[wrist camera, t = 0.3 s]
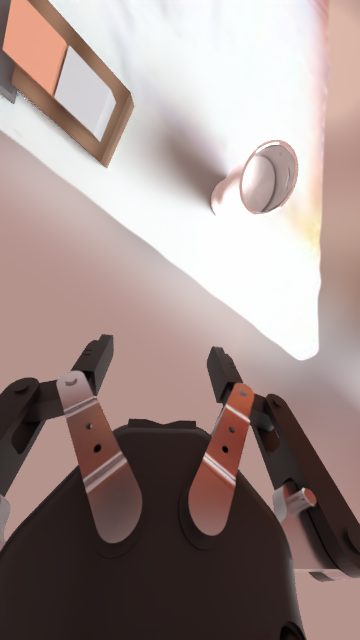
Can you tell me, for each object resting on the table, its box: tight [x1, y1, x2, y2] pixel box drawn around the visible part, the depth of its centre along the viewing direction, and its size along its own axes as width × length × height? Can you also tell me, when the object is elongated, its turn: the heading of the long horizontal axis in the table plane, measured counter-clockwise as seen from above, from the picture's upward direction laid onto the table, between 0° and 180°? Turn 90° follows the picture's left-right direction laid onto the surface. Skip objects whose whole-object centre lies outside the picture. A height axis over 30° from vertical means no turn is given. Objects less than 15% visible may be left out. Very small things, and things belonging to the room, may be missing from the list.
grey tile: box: [54, 45, 116, 142], centre depth 21 cm, size 5×5×2 cm
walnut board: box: [12, 0, 134, 168], centre depth 23 cm, size 12×9×3 cm
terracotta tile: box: [3, 0, 69, 107], centre depth 19 cm, size 5×5×2 cm
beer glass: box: [211, 140, 298, 219], centre depth 25 cm, size 7×7×15 cm
